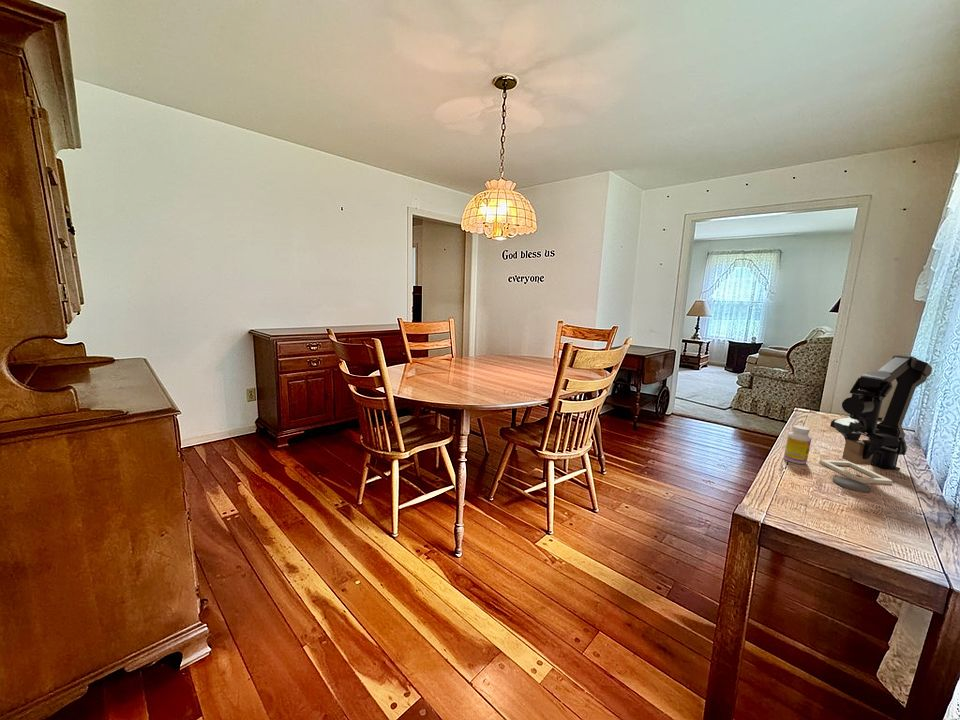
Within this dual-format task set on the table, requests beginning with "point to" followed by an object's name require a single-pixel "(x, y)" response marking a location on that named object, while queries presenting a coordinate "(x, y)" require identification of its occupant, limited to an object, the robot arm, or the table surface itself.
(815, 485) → the table surface
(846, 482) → the coaster
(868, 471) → the pocket frame
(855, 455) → the block
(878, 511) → the table surface
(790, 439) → the supplement bottle
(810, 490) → the table surface
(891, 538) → the table surface
